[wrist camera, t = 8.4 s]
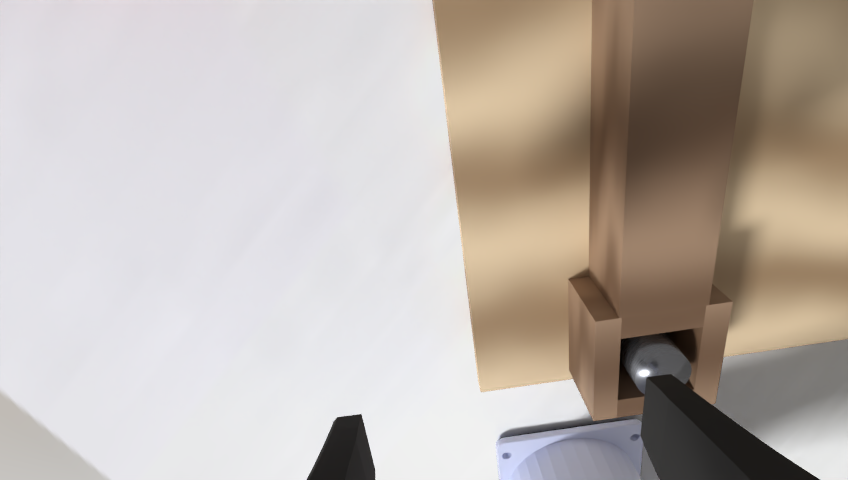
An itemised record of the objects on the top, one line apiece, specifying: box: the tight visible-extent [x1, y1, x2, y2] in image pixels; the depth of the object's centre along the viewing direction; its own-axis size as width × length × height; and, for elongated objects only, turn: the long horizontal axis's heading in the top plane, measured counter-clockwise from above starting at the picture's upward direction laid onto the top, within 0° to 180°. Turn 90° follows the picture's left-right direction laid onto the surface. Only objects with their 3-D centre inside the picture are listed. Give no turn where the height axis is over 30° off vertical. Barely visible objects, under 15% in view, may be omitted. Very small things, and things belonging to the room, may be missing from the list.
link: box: [568, 0, 754, 421], centre depth 18 cm, size 19×5×3 cm, turn 8°
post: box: [620, 333, 692, 394], centre depth 20 cm, size 2×2×4 cm
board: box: [433, 0, 848, 392], centre depth 19 cm, size 21×23×1 cm
